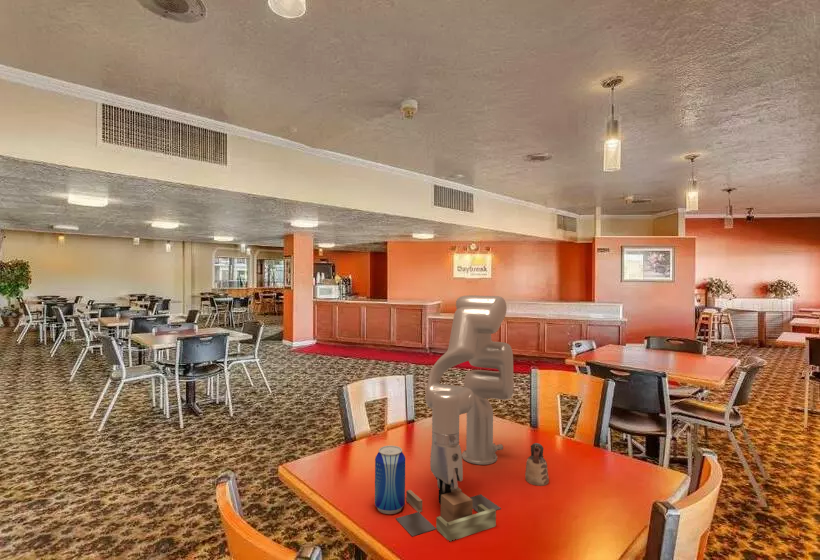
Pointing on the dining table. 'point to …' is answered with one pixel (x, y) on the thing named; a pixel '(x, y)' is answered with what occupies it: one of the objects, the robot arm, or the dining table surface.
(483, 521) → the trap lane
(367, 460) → the dining table surface
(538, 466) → the figurine
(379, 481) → the beer can
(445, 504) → the walnut block
